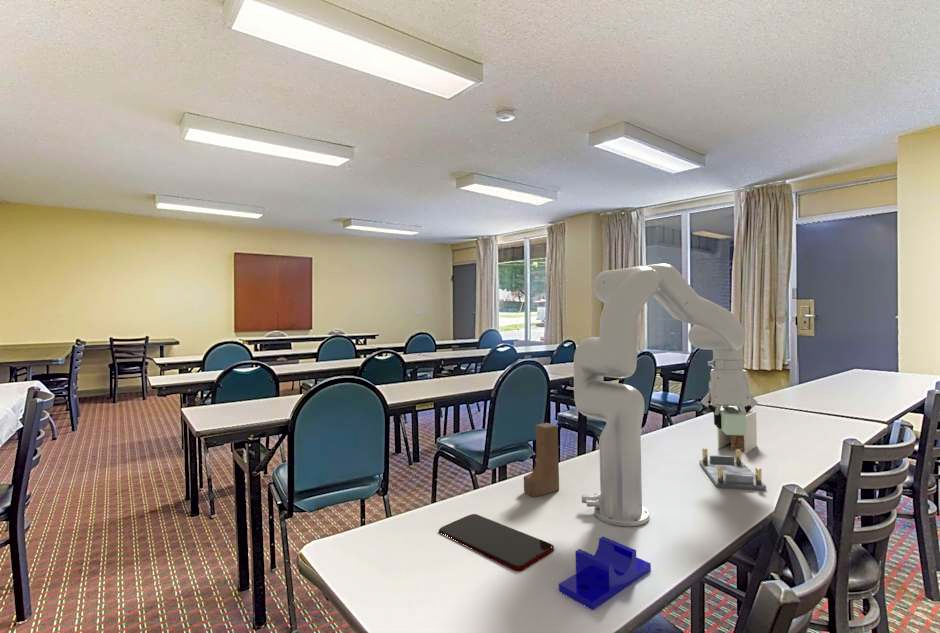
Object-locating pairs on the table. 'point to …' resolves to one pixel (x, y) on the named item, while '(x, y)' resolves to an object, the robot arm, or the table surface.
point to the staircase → (747, 440)
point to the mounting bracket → (603, 573)
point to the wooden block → (544, 462)
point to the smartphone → (498, 541)
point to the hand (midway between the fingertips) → (729, 427)
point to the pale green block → (732, 421)
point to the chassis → (731, 472)
